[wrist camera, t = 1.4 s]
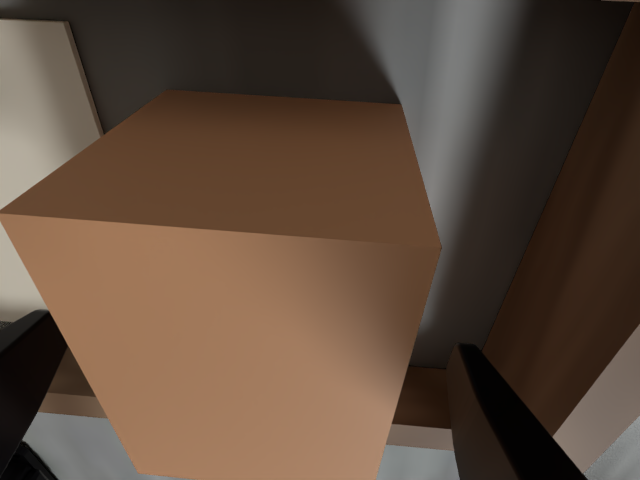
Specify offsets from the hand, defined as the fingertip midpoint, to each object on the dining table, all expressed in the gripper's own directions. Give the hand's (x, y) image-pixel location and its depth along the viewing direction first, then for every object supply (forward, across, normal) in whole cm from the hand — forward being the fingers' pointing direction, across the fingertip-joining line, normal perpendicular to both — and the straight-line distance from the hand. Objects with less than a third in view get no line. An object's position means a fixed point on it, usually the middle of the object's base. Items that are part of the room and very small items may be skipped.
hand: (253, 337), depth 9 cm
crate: (+4, 0, 0) cm, 5 cm away
